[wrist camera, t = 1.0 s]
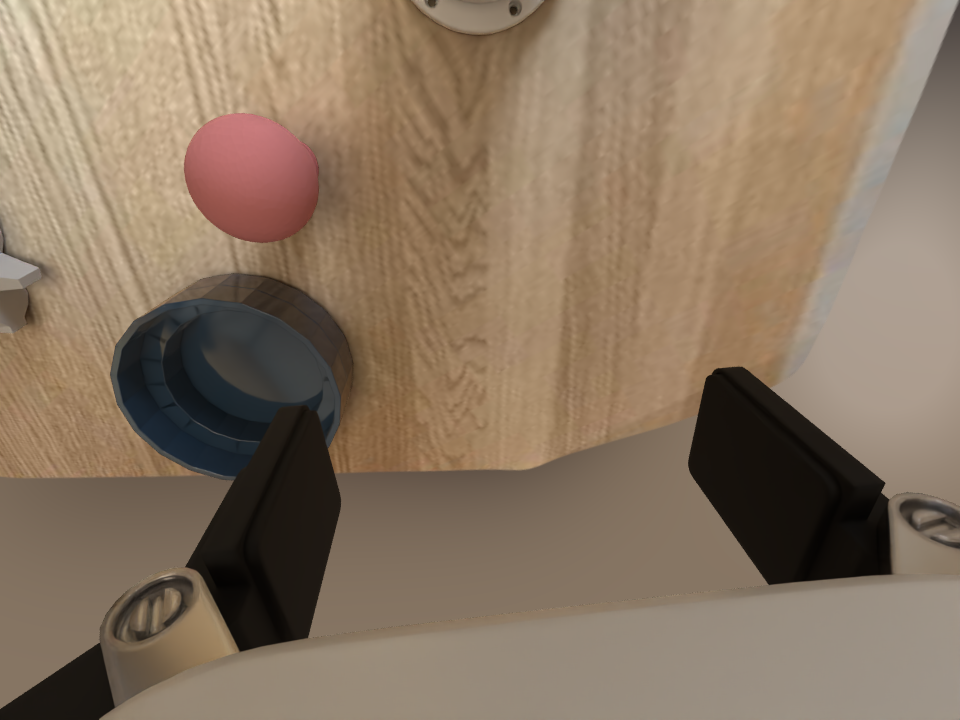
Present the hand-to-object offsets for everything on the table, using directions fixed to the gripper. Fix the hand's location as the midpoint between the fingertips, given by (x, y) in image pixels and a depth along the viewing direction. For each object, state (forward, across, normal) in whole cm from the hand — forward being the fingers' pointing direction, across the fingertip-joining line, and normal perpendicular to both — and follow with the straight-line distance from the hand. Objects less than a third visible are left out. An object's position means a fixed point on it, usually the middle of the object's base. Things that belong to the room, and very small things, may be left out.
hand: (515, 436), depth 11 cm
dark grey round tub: (+30, +20, +12) cm, 37 cm away
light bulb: (+30, +12, -4) cm, 32 cm away
